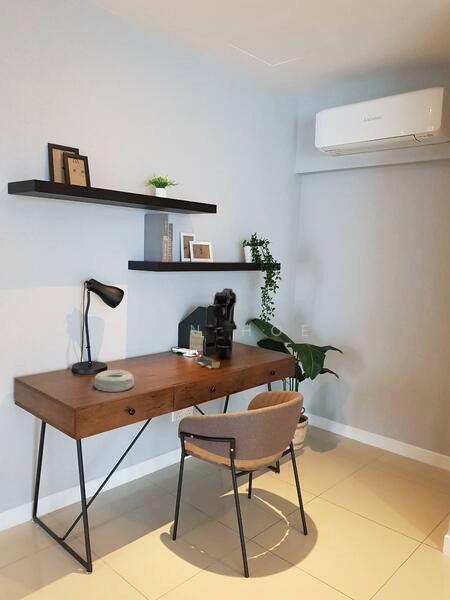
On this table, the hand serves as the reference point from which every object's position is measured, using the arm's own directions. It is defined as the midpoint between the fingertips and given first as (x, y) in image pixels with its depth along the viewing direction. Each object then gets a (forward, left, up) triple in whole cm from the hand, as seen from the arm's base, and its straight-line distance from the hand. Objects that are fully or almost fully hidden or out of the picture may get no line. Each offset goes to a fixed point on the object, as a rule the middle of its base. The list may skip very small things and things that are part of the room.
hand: (219, 342), depth 267 cm
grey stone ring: (+68, +13, -12) cm, 70 cm away
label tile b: (+7, +4, -12) cm, 14 cm away
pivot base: (+7, -8, -12) cm, 16 cm away
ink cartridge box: (-2, -25, -12) cm, 28 cm away
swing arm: (+7, -1, -12) cm, 14 cm away
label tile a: (+7, -3, -12) cm, 14 cm away
